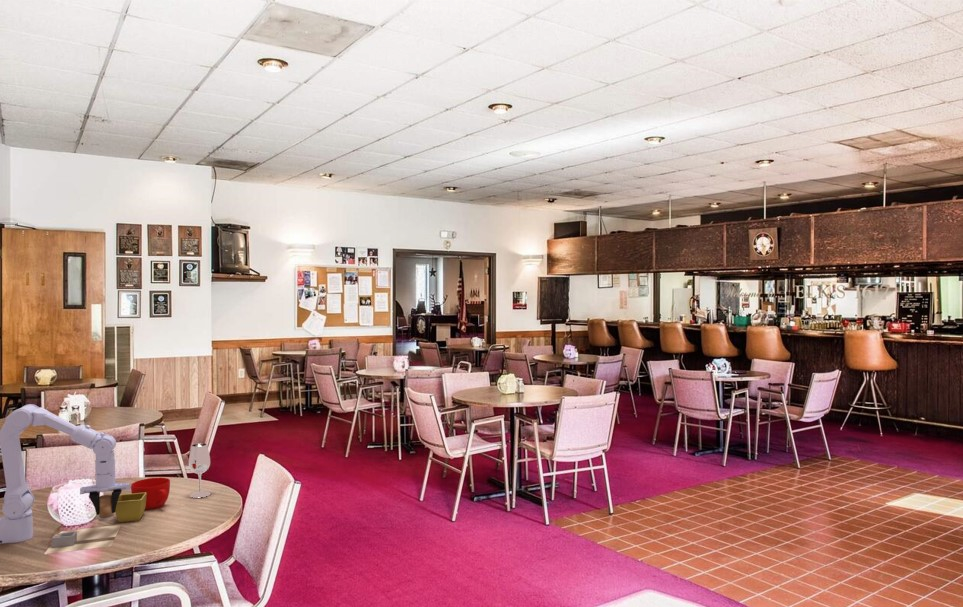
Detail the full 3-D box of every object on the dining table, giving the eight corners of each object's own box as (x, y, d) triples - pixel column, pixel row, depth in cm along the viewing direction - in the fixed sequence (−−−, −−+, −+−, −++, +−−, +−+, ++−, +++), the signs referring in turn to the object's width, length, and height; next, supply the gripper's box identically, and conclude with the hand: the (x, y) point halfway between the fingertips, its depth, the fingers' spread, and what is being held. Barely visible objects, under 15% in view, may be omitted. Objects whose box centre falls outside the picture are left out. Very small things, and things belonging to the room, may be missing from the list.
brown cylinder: (97, 521, 220) (96, 499, 220) (100, 517, 225) (99, 495, 224) (112, 520, 222) (112, 497, 222) (114, 515, 226) (114, 493, 226)
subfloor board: (43, 559, 203) (43, 554, 203) (60, 536, 222) (60, 531, 222) (110, 550, 209) (110, 546, 209) (121, 528, 228) (121, 524, 228)
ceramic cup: (147, 520, 236) (147, 492, 236) (124, 510, 246) (124, 483, 246) (183, 510, 246) (182, 483, 246) (159, 501, 257) (159, 475, 256)
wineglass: (189, 493, 266) (188, 443, 265) (210, 491, 269) (209, 441, 268) (189, 499, 258) (188, 448, 258) (211, 496, 262) (210, 445, 261)
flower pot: (113, 528, 229) (113, 502, 228) (120, 519, 237) (119, 494, 237) (142, 525, 231) (141, 499, 231) (147, 517, 239) (146, 492, 239)
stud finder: (51, 548, 208) (51, 537, 208) (55, 543, 211) (54, 533, 211) (73, 545, 210) (73, 535, 210) (76, 540, 213) (76, 530, 213)
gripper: (77, 477, 217) (78, 519, 217) (127, 473, 222) (128, 514, 222) (82, 472, 223) (83, 512, 224) (131, 468, 228) (131, 507, 229)
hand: (106, 513), depth 223 cm, fingers closed on brown cylinder, 4 cm apart
